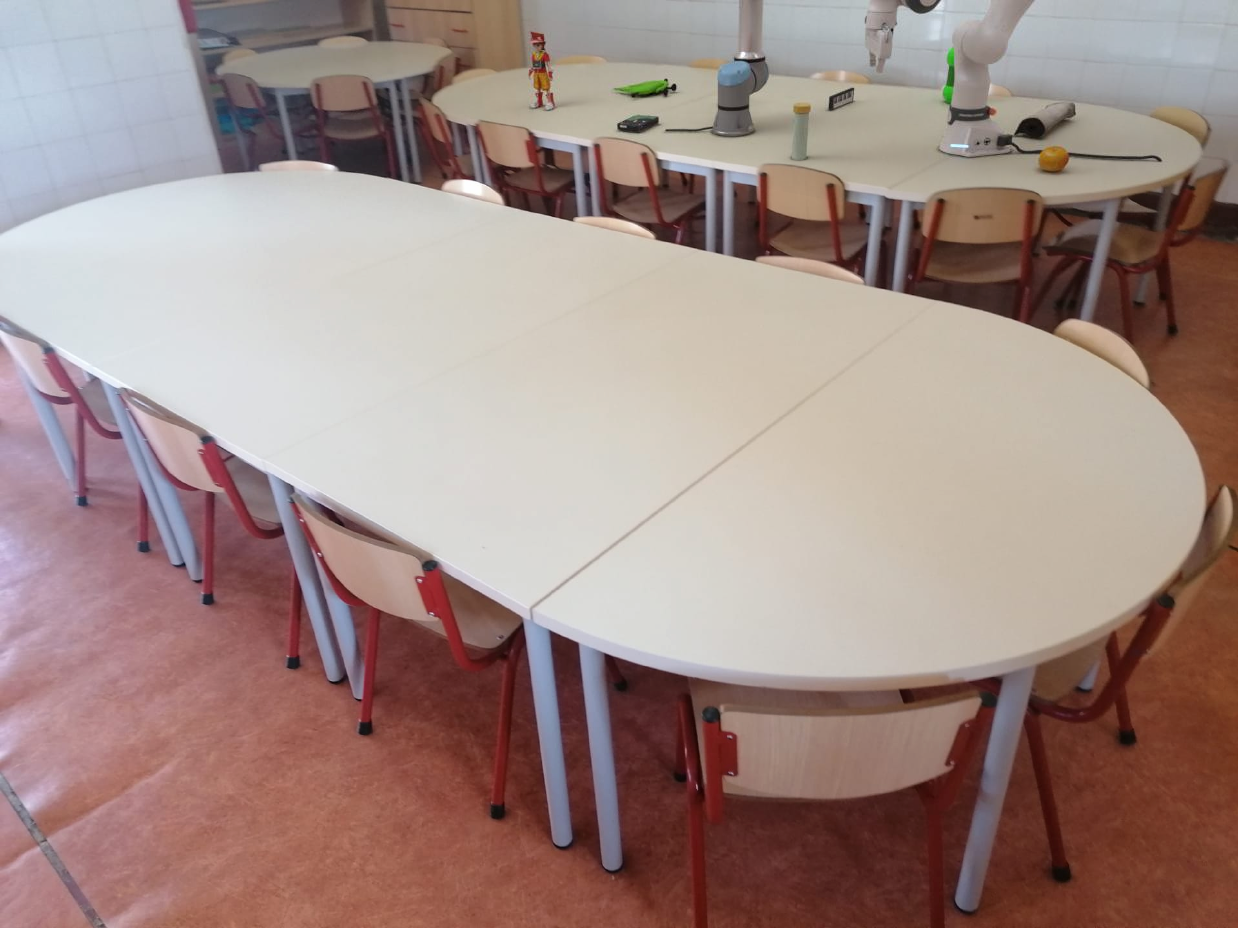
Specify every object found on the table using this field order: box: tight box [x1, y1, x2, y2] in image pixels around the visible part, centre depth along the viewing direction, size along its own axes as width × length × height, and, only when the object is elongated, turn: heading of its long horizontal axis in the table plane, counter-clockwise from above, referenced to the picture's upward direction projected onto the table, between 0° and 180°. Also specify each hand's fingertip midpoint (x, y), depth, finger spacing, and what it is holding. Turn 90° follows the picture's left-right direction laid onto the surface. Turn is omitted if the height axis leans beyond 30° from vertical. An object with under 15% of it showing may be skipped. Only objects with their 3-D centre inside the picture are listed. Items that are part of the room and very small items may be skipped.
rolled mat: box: [1013, 101, 1077, 140], centre depth 317 cm, size 30×9×10 cm
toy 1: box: [527, 31, 556, 111], centre depth 374 cm, size 12×9×30 cm
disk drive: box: [616, 114, 660, 133], centre depth 347 cm, size 10×3×15 cm
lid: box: [792, 102, 812, 113], centre depth 296 cm, size 6×6×2 cm
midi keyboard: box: [827, 87, 855, 111], centre depth 358 cm, size 18×1×5 cm, turn 138°
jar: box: [791, 111, 810, 161], centre depth 300 cm, size 5×5×17 cm
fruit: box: [1037, 145, 1070, 172], centre depth 278 cm, size 8×8×8 cm
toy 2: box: [612, 78, 677, 99], centre depth 396 cm, size 28×5×30 cm
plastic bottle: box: [942, 46, 955, 104], centre depth 348 cm, size 10×10×25 cm
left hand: (881, 50), depth 308 cm, fingers open, 13 cm apart
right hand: (875, 69), depth 283 cm, fingers open, 8 cm apart
